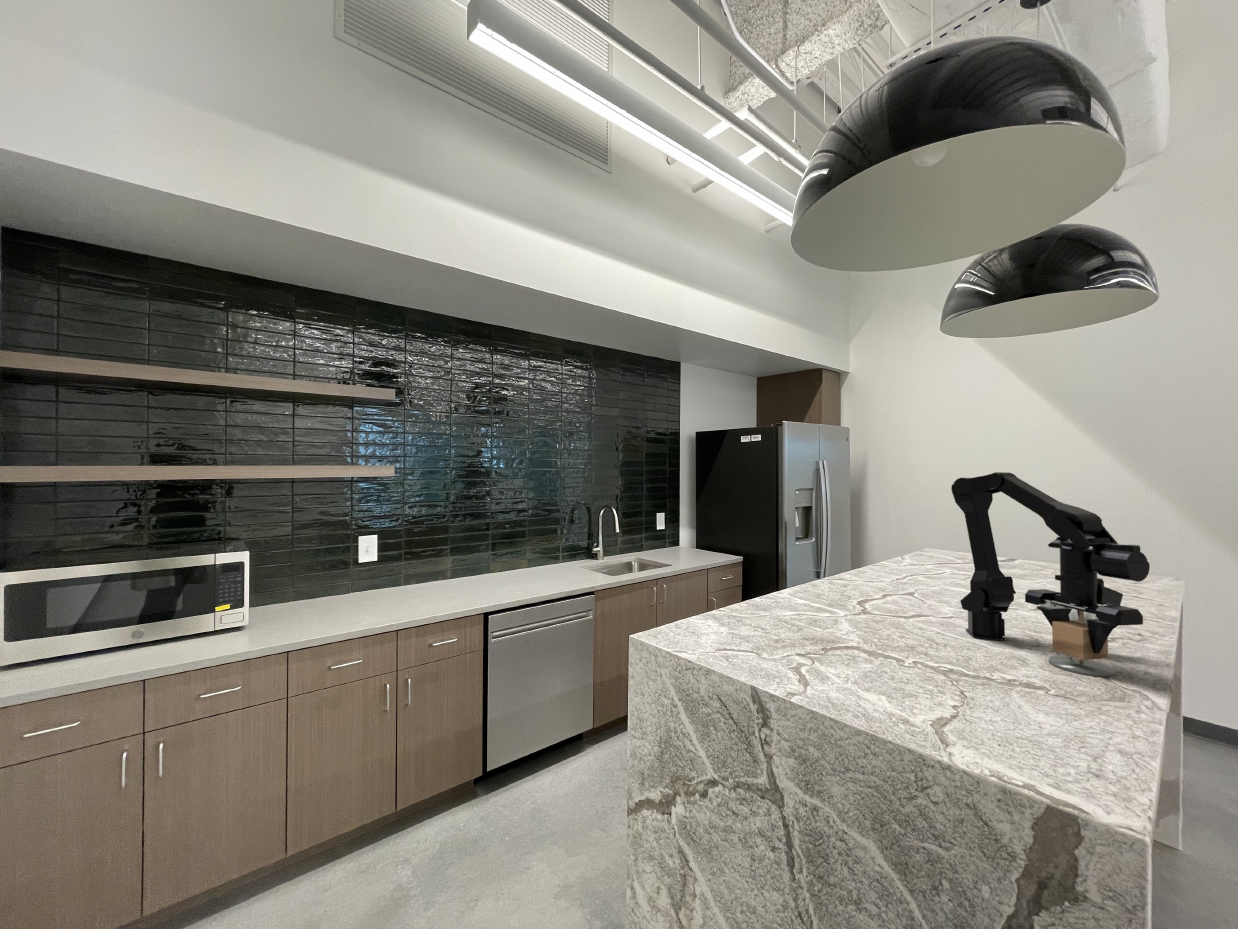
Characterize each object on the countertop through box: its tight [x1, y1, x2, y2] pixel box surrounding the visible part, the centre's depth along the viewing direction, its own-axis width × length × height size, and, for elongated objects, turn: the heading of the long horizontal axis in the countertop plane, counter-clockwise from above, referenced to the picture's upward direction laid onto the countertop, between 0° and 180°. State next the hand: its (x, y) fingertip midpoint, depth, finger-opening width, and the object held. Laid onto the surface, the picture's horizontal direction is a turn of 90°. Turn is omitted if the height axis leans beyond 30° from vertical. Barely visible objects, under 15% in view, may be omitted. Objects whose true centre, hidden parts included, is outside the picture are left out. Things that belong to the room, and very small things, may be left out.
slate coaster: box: [1048, 655, 1116, 678], centre depth 103 cm, size 10×10×1 cm
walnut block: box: [1051, 620, 1109, 661], centre depth 103 cm, size 6×6×6 cm
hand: (1079, 647), depth 103 cm, fingers closed on walnut block, 6 cm apart
